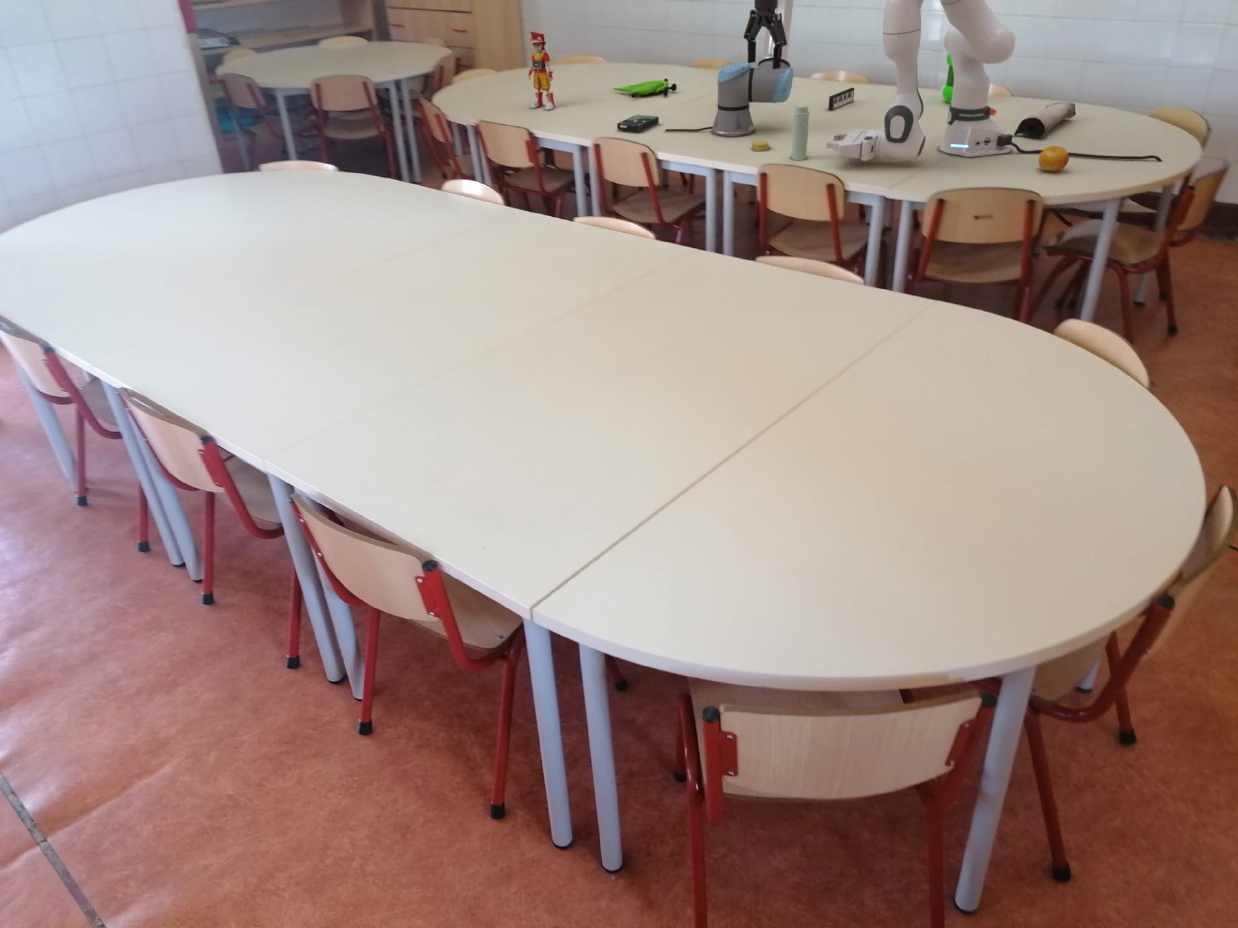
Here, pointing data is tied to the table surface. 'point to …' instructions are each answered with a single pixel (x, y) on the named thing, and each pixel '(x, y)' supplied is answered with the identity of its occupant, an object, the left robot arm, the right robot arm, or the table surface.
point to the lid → (760, 145)
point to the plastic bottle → (949, 82)
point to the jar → (800, 132)
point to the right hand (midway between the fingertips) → (830, 141)
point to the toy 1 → (541, 71)
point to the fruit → (1053, 158)
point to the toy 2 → (648, 88)
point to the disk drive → (638, 123)
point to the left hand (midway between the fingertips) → (763, 65)
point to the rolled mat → (1045, 119)
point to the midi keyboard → (841, 98)
